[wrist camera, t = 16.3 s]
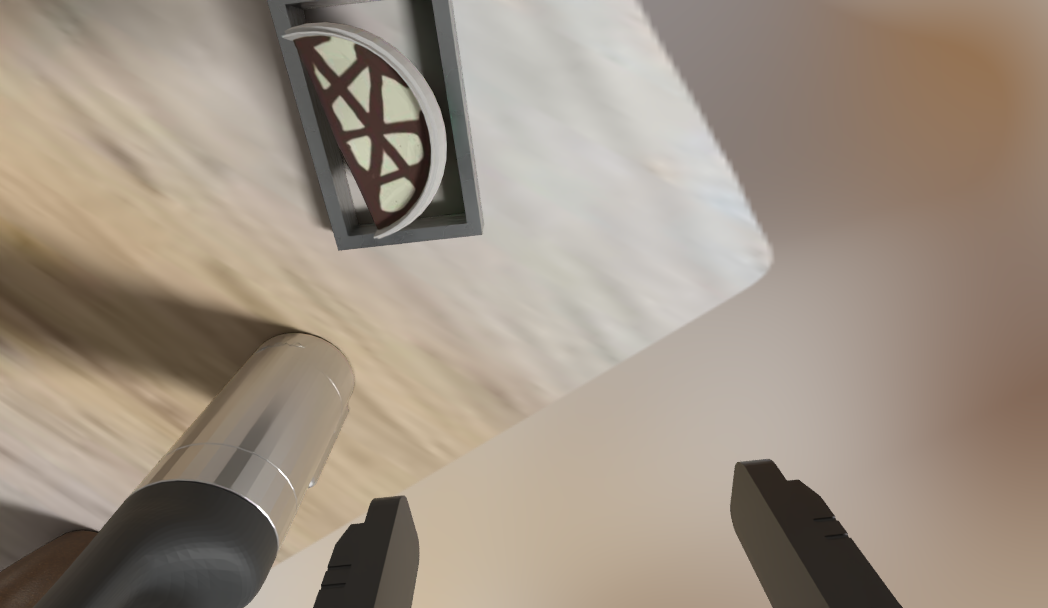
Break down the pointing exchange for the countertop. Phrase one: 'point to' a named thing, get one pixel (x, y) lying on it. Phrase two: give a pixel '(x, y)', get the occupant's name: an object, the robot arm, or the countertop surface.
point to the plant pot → (41, 570)
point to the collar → (325, 152)
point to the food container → (377, 118)
